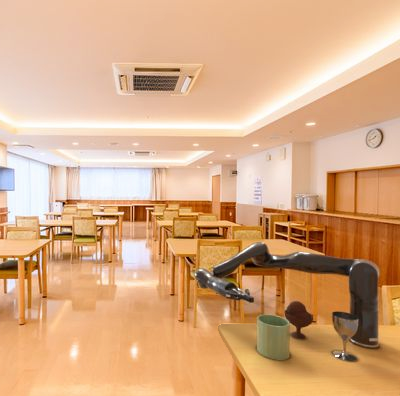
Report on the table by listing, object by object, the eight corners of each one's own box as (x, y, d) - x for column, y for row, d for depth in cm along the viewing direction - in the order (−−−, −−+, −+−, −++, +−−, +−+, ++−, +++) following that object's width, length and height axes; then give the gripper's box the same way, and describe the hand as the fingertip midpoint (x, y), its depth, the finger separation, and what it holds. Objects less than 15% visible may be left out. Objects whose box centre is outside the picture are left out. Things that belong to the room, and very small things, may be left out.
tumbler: (260, 341, 118) (261, 312, 118) (291, 350, 111) (292, 319, 111) (253, 353, 109) (253, 321, 108) (286, 363, 102) (286, 329, 102)
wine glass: (335, 359, 105) (335, 318, 105) (329, 348, 112) (329, 310, 112) (361, 363, 102) (362, 321, 102) (353, 352, 109) (353, 313, 109)
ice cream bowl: (318, 343, 116) (318, 306, 116) (288, 340, 118) (288, 304, 118) (308, 331, 126) (308, 297, 126) (280, 329, 128) (280, 295, 128)
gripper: (235, 294, 138) (264, 307, 122) (212, 297, 132) (240, 311, 116) (235, 278, 138) (264, 289, 122) (212, 281, 132) (240, 293, 116)
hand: (252, 300), depth 119 cm, fingers closed
